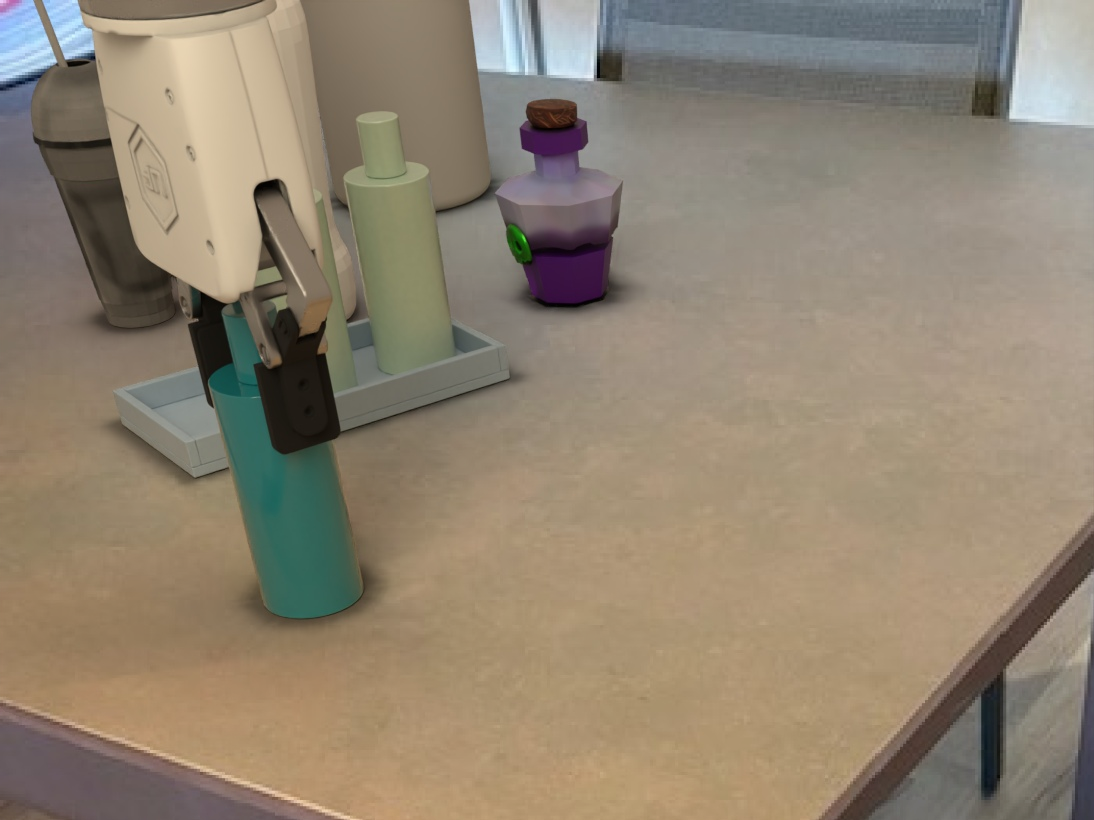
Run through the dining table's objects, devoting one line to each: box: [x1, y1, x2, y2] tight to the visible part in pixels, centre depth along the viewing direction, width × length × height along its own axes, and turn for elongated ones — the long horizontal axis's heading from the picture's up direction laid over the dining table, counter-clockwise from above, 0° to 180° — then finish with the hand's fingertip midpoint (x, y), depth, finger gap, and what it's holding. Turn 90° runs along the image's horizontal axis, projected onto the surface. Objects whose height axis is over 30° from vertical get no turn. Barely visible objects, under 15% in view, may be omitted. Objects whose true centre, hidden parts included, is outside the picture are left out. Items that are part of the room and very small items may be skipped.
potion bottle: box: [494, 98, 624, 308], centre depth 109 cm, size 9×9×12 cm
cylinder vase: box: [300, 0, 492, 212], centre depth 123 cm, size 12×12×25 cm
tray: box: [112, 317, 511, 479], centre depth 100 cm, size 21×10×2 cm, turn 129°
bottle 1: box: [266, 0, 357, 321], centre depth 101 cm, size 8×8×30 cm
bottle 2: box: [255, 189, 359, 393], centre depth 95 cm, size 5×5×14 cm
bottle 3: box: [343, 111, 457, 375], centre depth 99 cm, size 5×5×14 cm
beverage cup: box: [30, 0, 176, 329], centre depth 106 cm, size 7×7×20 cm
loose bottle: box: [208, 300, 365, 620], centre depth 77 cm, size 5×5×14 cm
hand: (273, 419), depth 76 cm, fingers open, 5 cm apart
